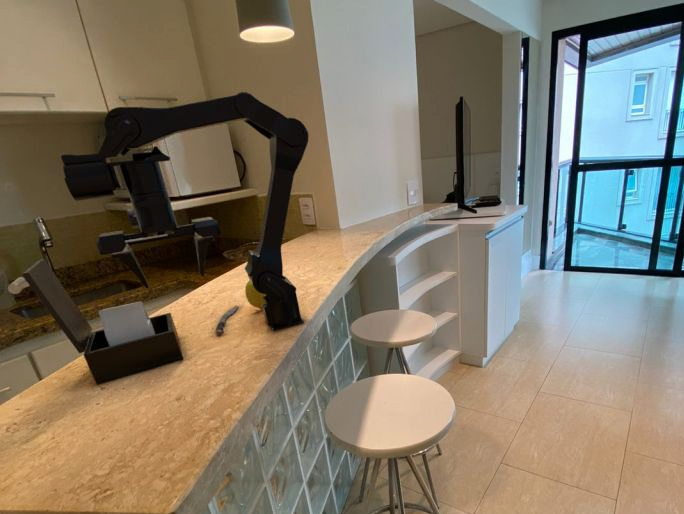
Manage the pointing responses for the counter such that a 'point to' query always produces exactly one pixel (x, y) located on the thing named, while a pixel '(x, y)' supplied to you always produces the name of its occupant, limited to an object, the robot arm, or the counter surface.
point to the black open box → (133, 352)
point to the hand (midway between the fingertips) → (175, 281)
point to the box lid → (55, 302)
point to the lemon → (254, 296)
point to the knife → (220, 325)
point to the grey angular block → (126, 323)
